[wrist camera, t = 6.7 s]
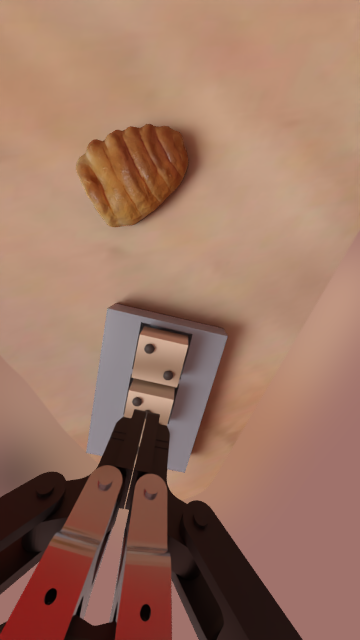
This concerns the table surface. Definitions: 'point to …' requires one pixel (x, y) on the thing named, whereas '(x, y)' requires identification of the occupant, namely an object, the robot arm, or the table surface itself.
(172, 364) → the button
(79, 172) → the pastry
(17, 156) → the table surface
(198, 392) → the panel
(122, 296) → the table surface
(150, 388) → the button
